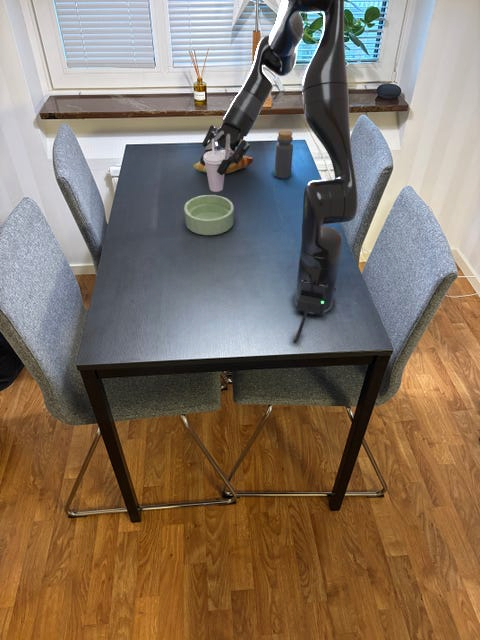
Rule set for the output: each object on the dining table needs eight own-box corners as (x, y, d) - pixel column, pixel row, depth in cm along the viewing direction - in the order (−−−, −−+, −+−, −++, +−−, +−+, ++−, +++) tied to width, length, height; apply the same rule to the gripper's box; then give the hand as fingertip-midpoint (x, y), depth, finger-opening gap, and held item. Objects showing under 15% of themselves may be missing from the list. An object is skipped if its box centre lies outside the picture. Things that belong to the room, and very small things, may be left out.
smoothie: (215, 180, 145) (213, 132, 135) (232, 187, 142) (232, 139, 132) (200, 189, 141) (197, 140, 131) (217, 196, 138) (215, 147, 128)
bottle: (293, 176, 176) (297, 134, 165) (278, 179, 174) (281, 137, 164) (286, 169, 180) (289, 127, 169) (271, 172, 178) (273, 130, 168)
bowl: (225, 240, 147) (224, 224, 144) (178, 232, 150) (176, 215, 147) (239, 214, 158) (239, 199, 154) (195, 207, 161) (194, 191, 157)
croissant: (196, 184, 178) (196, 170, 171) (190, 160, 181) (191, 146, 174) (254, 176, 182) (257, 162, 174) (248, 153, 185) (250, 138, 177)
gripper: (217, 98, 135) (185, 154, 137) (255, 113, 127) (220, 172, 129) (232, 112, 141) (201, 166, 143) (269, 128, 133) (236, 184, 136)
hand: (210, 169), depth 136 cm, fingers closed on smoothie, 6 cm apart
